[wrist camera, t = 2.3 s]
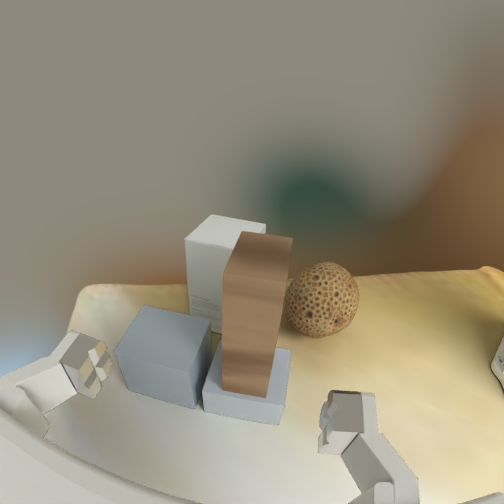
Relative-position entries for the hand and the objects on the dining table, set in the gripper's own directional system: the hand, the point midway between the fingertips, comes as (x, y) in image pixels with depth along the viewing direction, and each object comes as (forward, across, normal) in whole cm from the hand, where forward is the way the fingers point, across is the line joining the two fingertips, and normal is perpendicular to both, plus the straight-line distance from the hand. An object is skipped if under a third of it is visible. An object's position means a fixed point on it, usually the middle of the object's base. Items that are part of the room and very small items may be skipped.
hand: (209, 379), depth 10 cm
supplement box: (+24, +5, +19) cm, 31 cm away
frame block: (+12, 0, +15) cm, 20 cm away
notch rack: (+13, +4, +19) cm, 23 cm away
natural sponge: (+23, -7, +19) cm, 31 cm away
